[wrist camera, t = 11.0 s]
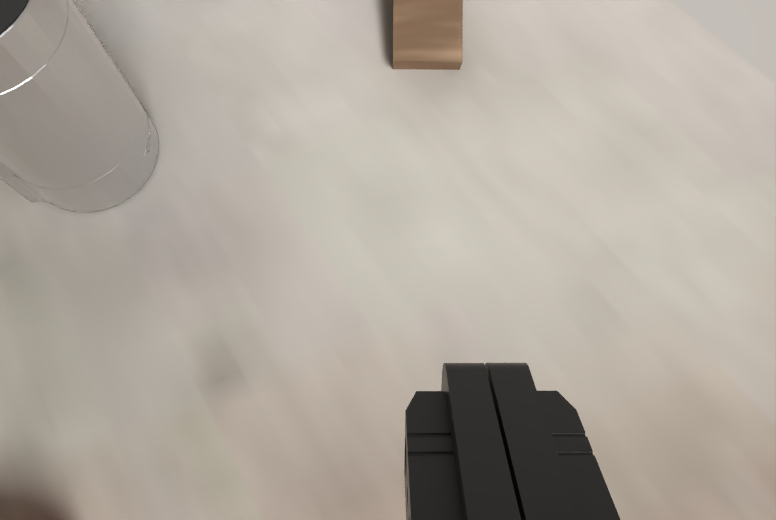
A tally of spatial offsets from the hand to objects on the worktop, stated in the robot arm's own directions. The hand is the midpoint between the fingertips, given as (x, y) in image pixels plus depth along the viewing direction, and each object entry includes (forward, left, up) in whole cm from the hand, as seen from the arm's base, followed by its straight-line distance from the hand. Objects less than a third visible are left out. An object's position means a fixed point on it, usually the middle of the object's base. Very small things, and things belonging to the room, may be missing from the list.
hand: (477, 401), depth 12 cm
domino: (+6, +26, -29) cm, 40 cm away
